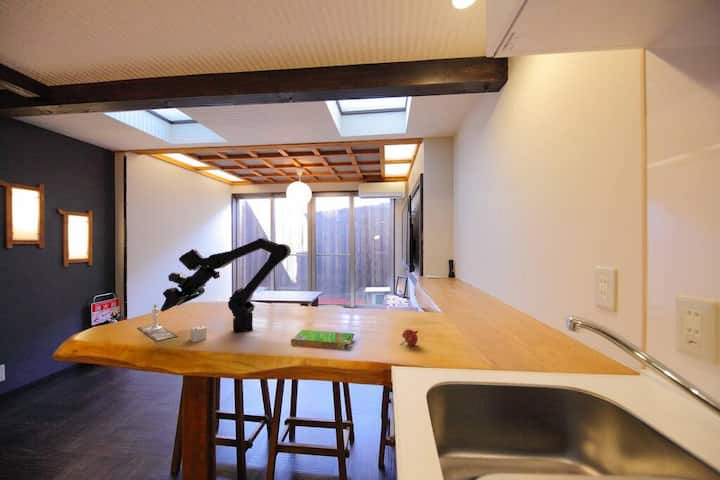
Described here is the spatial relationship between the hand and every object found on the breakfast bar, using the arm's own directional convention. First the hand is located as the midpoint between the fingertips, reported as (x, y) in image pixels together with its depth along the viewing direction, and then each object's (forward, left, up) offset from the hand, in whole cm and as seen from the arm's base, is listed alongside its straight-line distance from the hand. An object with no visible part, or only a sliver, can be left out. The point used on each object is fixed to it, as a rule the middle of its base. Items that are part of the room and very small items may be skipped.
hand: (169, 307), depth 102 cm
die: (-11, +15, -9) cm, 20 cm away
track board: (+4, 0, -9) cm, 10 cm away
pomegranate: (-75, +53, -9) cm, 92 cm away
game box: (-50, +37, -9) cm, 63 cm away
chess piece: (+5, -2, -9) cm, 10 cm away
